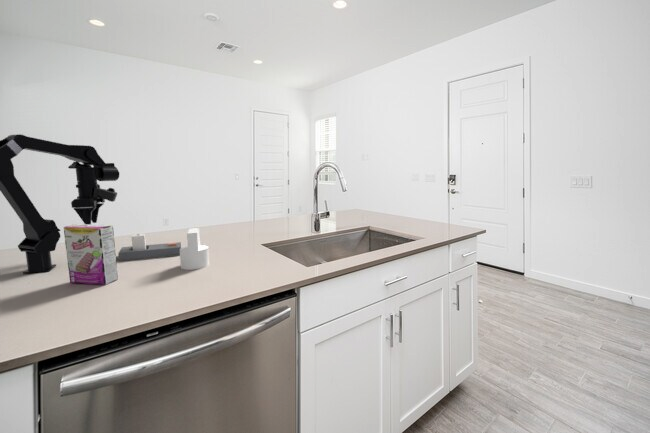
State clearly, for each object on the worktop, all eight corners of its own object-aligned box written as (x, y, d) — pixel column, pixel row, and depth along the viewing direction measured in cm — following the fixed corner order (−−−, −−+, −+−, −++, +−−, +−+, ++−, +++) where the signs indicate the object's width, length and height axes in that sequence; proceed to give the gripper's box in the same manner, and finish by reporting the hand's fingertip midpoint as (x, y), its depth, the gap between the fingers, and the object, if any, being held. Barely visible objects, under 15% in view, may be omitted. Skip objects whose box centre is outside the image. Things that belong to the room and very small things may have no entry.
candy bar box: (68, 284, 87) (61, 226, 85) (84, 278, 92) (78, 223, 89) (105, 285, 86) (99, 227, 83) (119, 279, 91) (114, 224, 88)
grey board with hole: (198, 253, 120) (197, 243, 120) (119, 261, 109) (118, 250, 109) (197, 247, 128) (196, 238, 128) (123, 254, 117) (122, 245, 117)
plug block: (145, 256, 115) (144, 234, 114) (133, 258, 113) (131, 235, 112) (146, 254, 119) (145, 232, 117) (134, 255, 117) (132, 233, 116)
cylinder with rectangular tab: (182, 262, 108) (180, 228, 106) (210, 260, 110) (208, 227, 109) (178, 270, 99) (176, 233, 97) (208, 268, 102) (206, 232, 100)
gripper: (109, 182, 106) (113, 227, 108) (118, 180, 123) (121, 219, 125) (68, 182, 101) (73, 229, 103) (83, 180, 118) (87, 221, 120)
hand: (91, 224), depth 113 cm, fingers open, 9 cm apart
